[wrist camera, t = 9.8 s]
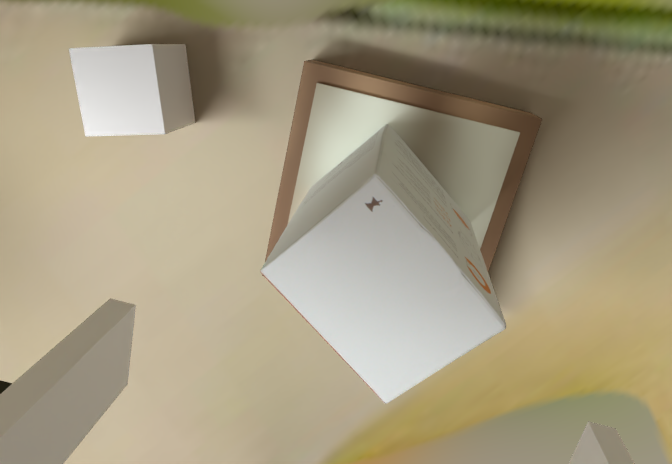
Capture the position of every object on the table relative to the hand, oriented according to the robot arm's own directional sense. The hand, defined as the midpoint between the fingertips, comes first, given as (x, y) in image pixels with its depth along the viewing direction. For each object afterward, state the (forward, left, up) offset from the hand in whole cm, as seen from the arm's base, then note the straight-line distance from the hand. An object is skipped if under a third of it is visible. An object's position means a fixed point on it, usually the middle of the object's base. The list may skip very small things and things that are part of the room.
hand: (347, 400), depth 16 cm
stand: (+1, +1, -23) cm, 23 cm away
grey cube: (-16, +4, -23) cm, 28 cm away
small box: (+1, 0, -20) cm, 20 cm away
